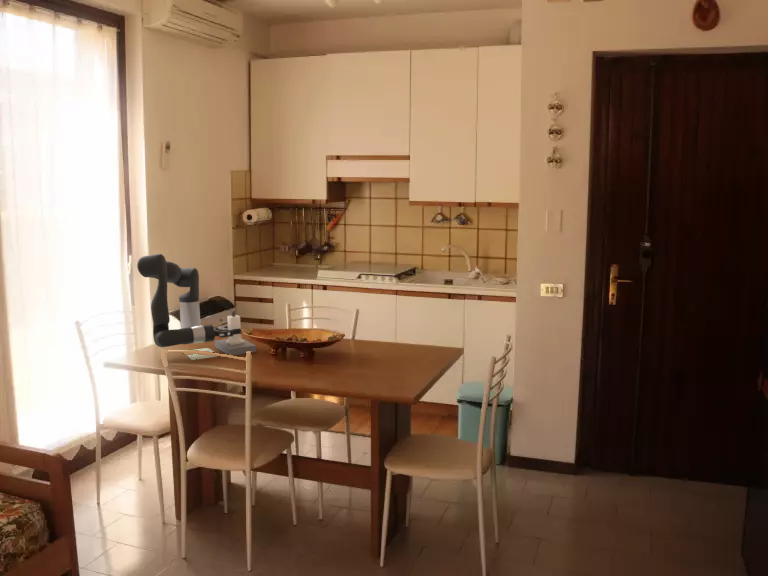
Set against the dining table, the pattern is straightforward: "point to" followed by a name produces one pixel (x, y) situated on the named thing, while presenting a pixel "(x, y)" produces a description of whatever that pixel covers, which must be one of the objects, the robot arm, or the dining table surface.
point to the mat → (196, 356)
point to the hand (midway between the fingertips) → (237, 329)
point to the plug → (234, 324)
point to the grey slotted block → (235, 347)
